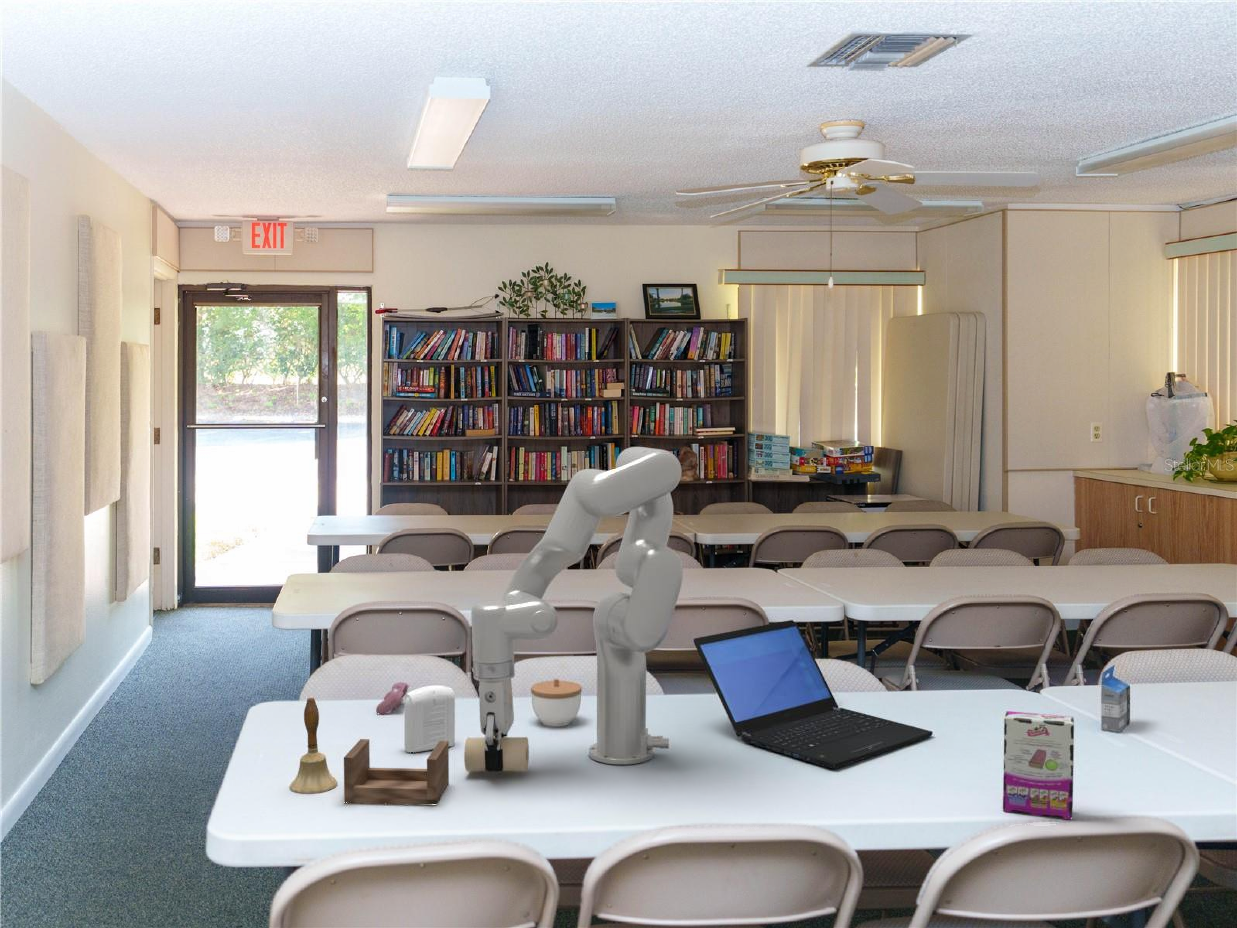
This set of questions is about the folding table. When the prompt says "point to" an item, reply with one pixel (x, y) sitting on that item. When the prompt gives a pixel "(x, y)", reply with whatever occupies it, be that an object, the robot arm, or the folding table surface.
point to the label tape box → (1114, 703)
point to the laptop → (791, 699)
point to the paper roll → (512, 754)
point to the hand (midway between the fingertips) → (497, 763)
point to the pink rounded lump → (393, 698)
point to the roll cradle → (395, 778)
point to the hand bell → (312, 759)
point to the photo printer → (429, 718)
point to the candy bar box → (1038, 764)
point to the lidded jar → (556, 702)
